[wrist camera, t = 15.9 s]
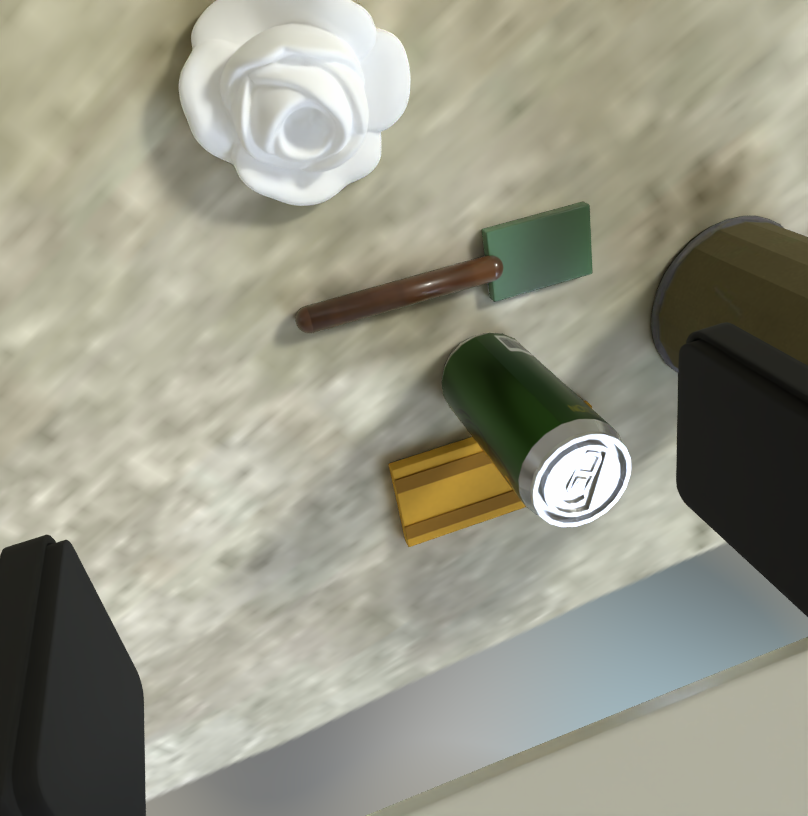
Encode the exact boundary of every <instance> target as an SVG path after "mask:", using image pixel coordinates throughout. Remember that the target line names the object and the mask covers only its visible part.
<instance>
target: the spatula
mask: <svg viewBox="0 0 808 816" xmlns="http://www.w3.org/2000/svg"><path fill="white" fill-rule="evenodd" d="M482 237H483V246H484V254H485V256H483V257H480V258H476V259H473V260H469V261H465V262H462V263H458V264H455V265H451V266H447V267H444V268H440V269H437V270H433V271H430V272H426V273H422V274H419V275H415V276H412V277H408V278H404V279H401V280H397V281H394V282H390V283H386V284H383V285H379V286H376V287H372V288H369V289H365V290H361V291H358V292H354V293H351V294H347V295H343V296H340V297H336V298H333V299H329V300H326V301H322V302H318V303H315V304H311V305H308V306H304V307H302V308H301V309H300V310H299V311H298V312H297V314H296V324H297V326H298V328H299V329H300V330H301V331H303V332H305V333H314V332H318V331H321V330H325V329H328V328H332V327H335V326H339V325H342V324H346V323H349V322H353V321H356V320H360V319H363V318H367V317H370V316H374V315H377V314H381V313H384V312H388V311H391V310H395V309H398V308H402V307H405V306H409V305H412V304H416V303H419V302H423V301H426V300H430V299H433V298H437V297H440V296H444V295H447V294H451V293H454V292H458V291H461V290H465V289H468V288H472V287H475V286H479V285H482V284H486V283H488V288H489V296H490V299H491V300H493V301H494V302H496V301H500V300H503V299H507V298H510V297H513V296H517V295H520V294H524V293H527V292H531V291H534V290H537V289H541V288H544V287H548V286H551V285H555V284H558V283H562V282H565V281H568V280H572V279H575V278H579V277H582V276H586V275H589V274H592V252H591V229H590V206H589V204H587V203H585V202H580V203H576V204H573V205H569V206H565V207H562V208H558V209H554V210H551V211H547V212H543V213H539V214H536V215H532V216H528V217H525V218H521V219H517V220H514V221H510V222H506V223H503V224H499V225H495V226H492V227H488V228H484V229H482Z"/></svg>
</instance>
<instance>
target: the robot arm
mask: <svg viewBox="0 0 808 816" xmlns="http://www.w3.org/2000/svg"><path fill="white" fill-rule="evenodd" d="M676 483H677V489H678V492H679V494H680V496H681V498H682V500H683V501H684V502H685V503H686V505H687V506H688V507H690V508H691V509H692V510H693V511H694V512H695V513H696V514H697V515H698V516H699V517H700V518H701V519H702V520H704V521H705V522H706V523H707V524H708V525H709V526H710V527H711V528H712V529H713V530H714V531H715V532H717V533H718V534H719V535H720V536H721V537H722V538H723V539H724V540H725V541H726V542H727V543H728V544H729V545H731V546H732V547H733V548H734V549H735V550H736V551H737V552H738V553H739V554H740V555H741V556H742V557H744V558H745V559H746V560H747V561H748V562H749V563H750V564H751V565H752V566H753V567H754V568H755V569H756V570H758V571H759V572H760V573H761V574H762V575H763V576H764V577H765V578H766V579H767V580H768V581H769V582H770V583H772V584H773V585H774V586H775V587H776V588H777V589H778V590H779V591H780V592H781V593H782V594H783V595H785V596H786V597H787V598H788V599H789V600H790V601H791V602H792V603H793V604H794V605H795V606H797V607H798V608H799V609H800V610H801V611H802V612H803V613H804V614H805V615H806V616H807V617H808V365H806V364H804V363H802V362H800V361H799V360H797V359H795V358H793V357H791V356H789V355H788V354H786V353H784V352H782V351H780V350H779V349H777V348H775V347H773V346H771V345H770V344H768V343H766V342H764V341H762V340H761V339H759V338H757V337H755V336H753V335H752V334H750V333H748V332H746V331H744V330H743V329H741V328H739V327H737V326H735V325H734V324H731V323H728V322H725V323H720V324H717V325H714V326H711V327H708V328H705V329H701V330H698V331H695V332H692V333H691V334H690V335H689V336H688V338H687V340H686V344H684V345H683V346H682V347H681V348H680V350H679V364H678V416H677V468H676ZM0 816H146V801H145V745H144V697H143V689H142V684H141V681H140V678H139V675H138V672H137V670H136V668H135V666H134V664H133V662H132V660H131V658H130V656H129V654H128V652H127V651H126V649H125V647H124V645H123V643H122V641H121V639H120V637H119V635H118V633H117V631H116V629H115V627H114V625H113V623H112V621H111V619H110V617H109V616H108V614H107V612H106V610H105V608H104V606H103V604H102V602H101V600H100V598H99V596H98V594H97V592H96V590H95V588H94V586H93V584H92V582H91V581H90V579H89V577H88V575H87V573H86V571H85V569H84V567H83V565H82V563H81V561H80V559H79V557H78V555H77V553H76V551H75V549H74V548H73V546H72V544H71V543H70V542H69V541H68V540H64V541H61V542H57V543H56V542H55V540H54V539H53V538H52V537H51V536H50V535H44V536H41V537H38V538H34V539H31V540H28V541H25V542H22V543H19V544H15V545H12V546H9V547H6V548H4V549H3V550H2V553H1V555H0ZM366 816H808V637H806V638H804V639H801V640H799V641H796V642H794V643H791V644H789V645H786V646H784V647H782V648H779V649H776V650H774V651H771V652H769V653H766V654H764V655H761V656H759V657H756V658H753V659H751V660H748V661H746V662H743V663H741V664H739V665H736V666H734V667H731V668H728V669H726V670H724V671H721V672H718V673H716V674H713V675H711V676H708V677H706V678H703V679H701V680H698V681H696V682H693V683H691V684H688V685H686V686H683V687H681V688H678V689H676V690H673V691H671V692H669V693H666V694H664V695H661V696H659V697H656V698H654V699H651V700H649V701H646V702H644V703H641V704H639V705H636V706H634V707H631V708H629V709H626V710H624V711H621V712H619V713H617V714H614V715H611V716H609V717H606V718H604V719H602V720H599V721H597V722H594V723H592V724H589V725H587V726H584V727H582V728H579V729H577V730H574V731H572V732H570V733H567V734H565V735H562V736H560V737H557V738H555V739H552V740H550V741H547V742H545V743H542V744H540V745H537V746H535V747H532V748H530V749H528V750H525V751H523V752H520V753H518V754H515V755H513V756H510V757H508V758H505V759H503V760H500V761H498V762H496V763H493V764H491V765H488V766H486V767H483V768H481V769H478V770H476V771H474V772H471V773H469V774H466V775H464V776H462V777H459V778H457V779H454V780H452V781H449V782H447V783H444V784H442V785H440V786H437V787H435V788H432V789H430V790H427V791H425V792H422V793H420V794H418V795H415V796H413V797H410V798H408V799H405V800H403V801H400V802H398V803H396V804H393V805H391V806H388V807H386V808H383V809H381V810H379V811H376V812H374V813H371V814H369V815H366Z"/></svg>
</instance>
